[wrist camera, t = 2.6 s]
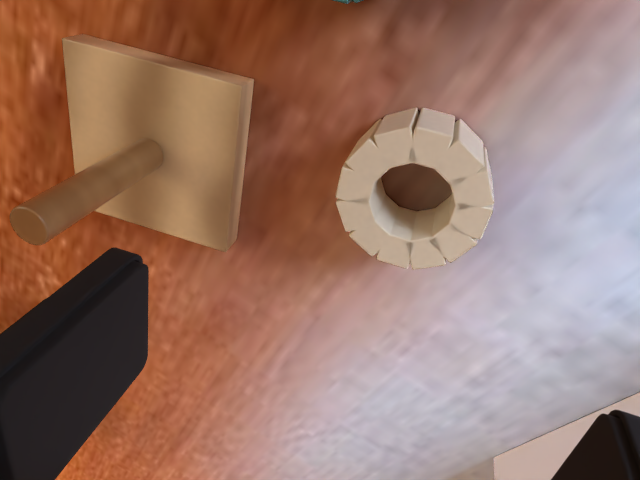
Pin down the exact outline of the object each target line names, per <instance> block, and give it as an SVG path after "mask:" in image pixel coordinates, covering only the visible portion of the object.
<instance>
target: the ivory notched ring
mask: <svg viewBox="0 0 640 480" xmlns="http://www.w3.org/2000/svg"><path fill="white" fill-rule="evenodd" d="M411 163H414V164H418V165H421V166H425V167H429V168H432V169H435V170H436V171H437V172H438V173H439V174H440V175H441V176H442V177H443V178H444V179H445V180H446V181H447V182H448V183H449V184H450V186H451V190H452V193H451V196H450V197H449V198H447V199H446V200H445V201H444V202H442V203H441V204H440V205H439V206H437V207H436V208H432V209H427V210H422V211H413V210H410V209H406V208H403V207H399V206H398V205H397V204H396V203H395V202H393V201H392V200H391V199H390V198H389V197H388V196H387V195H386V194H385V190H384V187H383V184H382V180H381V176H382V175H383V174H384V173H386V172H387V171H388V170H389V169H390V168H393V167H398V166H402V165H407V164H411ZM335 197H336V198H338V199H337V201H336V206H337V208H338V211H339V214H340V217H341V220H342V223H343V226H344V229H345V231H346V232H348V231H351V232H350V234H349V237H350V238H351V239H353V240H354V241H355V242H356V243H357V244H358V245H359V246H360V247H361V248H362V249H363V250H365V251H366V252H367V253H368V254H369V255H370V256H371V257H372V256H374V255H375V254H376V253H378V254H377V257H376V259H377V260H379V261H382V262H385V263H388V264H392V265H395V266H398V267H402V268H405V269H408V267H409V264H410V263H411V266H412V269H413V270H415V269H422V268H429V267H436V266H443V265H446V259H447V260H448V261H449V262H450V263H451V262H453V261H454V260H456V259H457V258H458V257H460V256H461V255H463V254H464V253H466V252H467V251H468V250H470V249H471V248H473V247H474V246H475V245H477V239H479V240H480V239H481V238H482V236H483V234H484V231H485V229H486V227H487V224H488V222H489V220H490V217H491V215H492V213H493V205H494V195H493V184H492V175H491V170H490V164H489V159H488V154H487V149H486V147H483V141H482V140H481V139H480V138H479V137H478V136H477V135H476V134H475V133H474V132H473V131H472V130H471V129H470V128H469V127H468V126H467V125H466V124H465V123H464V122H463V121H462V120H461V119H459V120H457V121H456V122H455V116H454V115H450V114H447V113H443V112H439V111H435V110H431V109H427V108H422V109H421V112H420V115H419V112H418V108H416V107H415V108H411V109H408V110H404V111H400V112H397V113H393V114H389V115H386V116H384V118H383V120H381V119H379V120H378V121H377V122H376V123H375V124H374V125H373V126H372V127H371V128H370V129H369V130H368V131H367V132H366V133H365V134H364V135H363V136H362V137H361V138H360V139H359V140H358V142H357V143H356V145H355V147H354V148H353V150H352V152H351V153H350V155H349V156H348V158H347V160H346V161H345V163H344V165H343V167H342V169H341V173H340V178H339V182H338V187H337V191H336V196H335Z"/></svg>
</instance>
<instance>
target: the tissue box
mask: <svg viewBox="0 0 640 480" xmlns="http://www.w3.org/2000/svg"><path fill="white" fill-rule="evenodd" d="M613 410H620V411H624V412H627V413H630V414H633V415H636V416H639V417H640V392H639V393H637V394H635V395H633V396H630V397H628V398H626V399H624V400H621V401H619V402H617V403H615V404H612V405H610V406H608V407H606V408H603V409H601V410H599V411H597V412H594V413H592V414H590V415H588V416H585V417H583V418H581V419H579V420H576V421H574V422H572V423H570V424H567V425H565V426H563V427H561V428H558V429H556V430H554V431H552V432H549V433H547V434H545V435H543V436H540V437H538V438H536V439H534V440H531V441H529V442H527V443H525V444H522V445H520V446H518V447H516V448H513V449H511V450H509V451H507V452H504V453H502V454H500V455H498V456H495V457H494V477H495V480H551V479H552V477H553V476H554V475H555V473H556V472H557V471H558V469H559V468H560V467H561V465H562V464H563V463H564V461H565V460H566V459H567V457H568V456H569V455H570V453H571V452H572V451H573V449H574V448H575V447H576V445H577V444H578V443H579V441H580V440H581V439H582V437H583V436H584V435H585V433H586V432H587V430H588V429H589V428H590V426H591V425H592V424H593V422H594V421H595V420H596V418H597V417H598V416H599V415H600V414H609V413H610V412H611V411H613Z"/></svg>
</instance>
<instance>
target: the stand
mask: <svg viewBox="0 0 640 480" xmlns="http://www.w3.org/2000/svg"><path fill="white" fill-rule="evenodd" d="M62 45H63V55H64V66H65V76H66V87H67V97H68V108H69V118H70V128H71V139H72V149H73V160H74V170H75V175H73V176H72V177H70V178H68V179H66V180H64V181H62V182H61V183H59V184H57V185H55V186H53V187H51V188H50V189H48V190H46V191H44V192H42V193H40V194H39V195H37V196H35V197H33V198H31V199H29V200H28V201H26V202H24V203H22V204H20V205H18V206H17V207H15V208H14V209H13V210H12V211H11V213H10V222H11V225H12V227H13V229H14V231H15V232H16V233H17V235H18V236H19V237H20V238H22V239H23V240H24V241H26V242H28V243H30V244H33V245H42V244H45V243H46V242H48V241H49V240H51V239H52V238H54V237H55V236H57V235H58V234H60V233H61V232H63V231H64V230H66V229H67V228H69V227H70V226H72V225H73V224H75V223H76V222H78V221H79V220H81V219H82V218H84V217H85V216H87V215H88V214H90V213H91V212H93V211H96V212H99V213H102V214H106V215H109V216H112V217H115V218H118V219H121V220H125V221H128V222H131V223H134V224H137V225H140V226H144V227H147V228H150V229H153V230H156V231H160V232H163V233H166V234H169V235H172V236H175V237H179V238H182V239H185V240H188V241H191V242H194V243H198V244H201V245H204V246H207V247H210V248H213V249H217V250H220V251H223V252H227V251H228V249H229V248H230V247H231V246H232V245H233V243H234V242H235V241H236V240H237V233H238V224H239V215H240V206H241V196H242V187H243V178H244V169H245V159H246V150H247V141H248V132H249V122H250V113H251V104H252V95H253V86H254V79H251V78H248V77H244V76H240V75H236V74H233V73H229V72H225V71H221V70H217V69H214V68H210V67H206V66H202V65H199V64H195V63H191V62H187V61H183V60H180V59H176V58H172V57H168V56H164V55H161V54H157V53H153V52H149V51H146V50H142V49H138V48H134V47H130V46H127V45H123V44H119V43H115V42H111V41H108V40H104V39H100V38H96V37H93V36H89V35H85V34H80V35H75V36H70V37H65V38H62Z"/></svg>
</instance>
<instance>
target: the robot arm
mask: <svg viewBox="0 0 640 480" xmlns="http://www.w3.org/2000/svg"><path fill="white" fill-rule="evenodd" d="M147 356H148V266H147V265H145V264H143V261H142V258H141V256H139V255H137V254H134V253H131V252H128V251H125V250H122V249H119V248H111V249H109V250H108V251H106V252H105V253H104V254H103V255H101V256H100V257H99V258H98V259H96V260H95V261H94V262H92V263H91V264H90V265H89V266H87V267H86V268H85V269H84V270H82V271H81V272H80V273H79V274H77V275H76V276H75V277H74V278H72V279H71V280H70V281H69V282H67V283H66V284H65V285H63V286H62V287H61V288H60V289H58V290H57V291H56V292H55V293H53V294H52V295H51V296H50V297H48V298H46V299H45V300H43V301H42V302H41V303H39V304H38V305H37V306H36V307H34V308H33V309H32V310H30V311H29V312H28V313H27V314H25V315H24V316H23V317H22V318H20V319H19V320H18V321H17V322H15V323H14V324H13V325H11V326H10V327H9V328H8V329H6V330H5V331H4V332H3V333H1V334H0V480H55V479H56V477H57V476H58V475H59V474H60V472H61V471H62V470H63V469H64V467H65V466H66V465H67V464H68V462H69V461H70V460H71V459H72V457H73V456H74V455H75V454H76V452H77V451H78V450H79V449H80V447H81V446H82V445H83V444H84V442H85V441H86V440H87V439H88V437H89V436H90V435H91V434H92V432H93V431H94V430H95V429H96V427H97V426H98V425H99V424H100V422H101V421H102V420H103V419H104V417H105V416H106V415H107V414H108V412H109V411H110V410H111V409H112V407H113V406H114V405H115V404H116V402H117V401H118V400H119V399H120V397H121V396H122V395H123V394H124V392H125V391H126V390H127V389H128V387H129V386H130V385H131V384H132V382H133V381H134V380H135V379H136V377H137V376H138V375H139V374H140V372H141V371H142V369H143V368H144V366H145V363H146V360H147ZM551 480H640V417H639V416H636V415H633V414H630V413H627V412H624V411H620V410H613V411H611V412H610V413H609V414H600V415H599V416H598V417H597V418H596V420H595V421H594V422H593V424H592V425H591V426H590V428H589V429H588V430H587V432H586V433H585V435H584V436H583V437H582V439H581V440H580V441H579V443H578V444H577V445H576V447H575V448H574V449H573V451H572V452H571V453H570V455H569V456H568V457H567V459H566V460H565V461H564V463H563V464H562V465H561V467H560V468H559V469H558V471H557V472H556V473H555V475H554V476H553V477H552V479H551Z"/></svg>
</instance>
